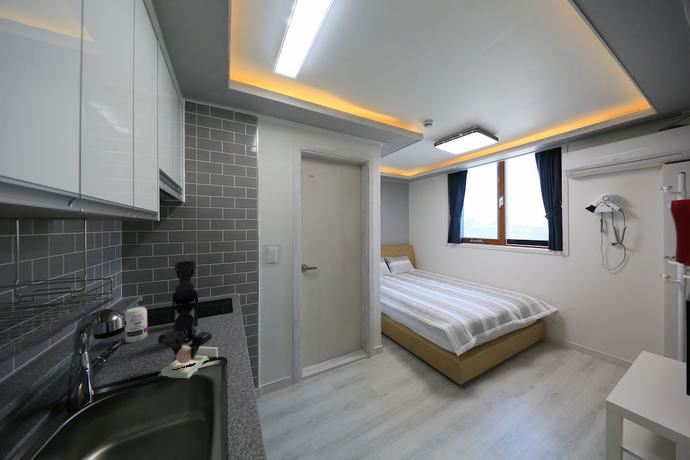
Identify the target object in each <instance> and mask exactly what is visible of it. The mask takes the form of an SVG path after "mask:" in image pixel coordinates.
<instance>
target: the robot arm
mask: <svg viewBox="0 0 690 460" xmlns="http://www.w3.org/2000/svg"><path fill="white" fill-rule="evenodd" d="M196 263H197V262H196V261H193V259H192V260H191V259H190V260H178V261H177V262H174V263H173V264H174V265H173V266H174V268H173V269H174V272H176V276H177V277H178V284H177V285H176V286H175V288H174V289H175V290H174V292H172V308H171V309H172V310H171V311H174V312H175V310H176V318H175V317H174V325H173V326H172V329H168V330H167V331H165V332H163V333H161V334H160V335H159V336H158V338H157V343H158V344H163V346H164V348H167V349H168V348H171V350H172V352H173V353H174V356H175V357H176V355H177V353H178V351H179V350H180V349H181V348H182V346H183V344H184V343H187V344H188V343H189V342H191V343H190V344H189V345H188V346H189V347H191V359H194V358H195V355H196V353H197V351H198V349H199V347H201V346H203V345H205V344H206V343H207V342H208V341H210V340H211V339H212V338H213V337H212V333H211V331H200V332H199V333H197V329H195V328H196V327H197V326H198V325H199V317H198V316H197V314H196V313H195V309H194V308H196V307H197V305H198V304H199V294H198V293H199V292H198V291H197V289H195V284H193V283H192V282H191V279H192V277H193V276H194V274H195V270H197V264H196ZM175 304H180V305H176V307H175ZM196 333H197V334H196Z"/></svg>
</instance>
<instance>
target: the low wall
mask: <svg viewBox="0 0 690 460" xmlns="http://www.w3.org/2000/svg"><path fill="white" fill-rule="evenodd" d="M186 346H187V345H182V346H181V348H183V347H186ZM196 355H198V356H208V358H213V357H217V358H218V357H219V348H218V347H217V346H216V347H213V346H212V347H211V346H200V347H199V349H198V351H197V353H196Z"/></svg>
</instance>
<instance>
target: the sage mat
mask: <svg viewBox="0 0 690 460" xmlns="http://www.w3.org/2000/svg"><path fill="white" fill-rule="evenodd" d="M209 359H210V360H211V357H208V356H198V355H195V358H194V359H191V360H190V361H189V362H187V363H179V362H178V361H177V359H175V360H174V361H173V362H171V363H169V365H167V366H166V367H164V368H163V369H161V370H160V373H161V374H160V373H159V374H158V376H159V375H163V376H168V377H167V378H174V379H175V378H176V379H189V378H190V377H192V376H193V375H194V374H195V373H196V372H198V368H199V366H200V365H201V364H202V363H203V362H204V361H206V360H209ZM210 360H209V361H210ZM193 363H196V364H195V365H194V366H192V367H187V368H186V367H185V368H181V367H184V366H186V365H189V364H193ZM177 368H180V369H178V370H172V369H177ZM194 372H195V373H194ZM193 373H194V374H193ZM192 374H193V375H192Z"/></svg>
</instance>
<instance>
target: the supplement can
mask: <svg viewBox="0 0 690 460" xmlns="http://www.w3.org/2000/svg"><path fill="white" fill-rule="evenodd" d="M125 321H126V327H125V326H124V339H125V342H127V343H136V342H140V341H143V340H144V339H146V338H147V337H148V309H147V308H146V307H145V306H136V307H131V308H129V309H127V310H126V311H125V313H124V322H125Z"/></svg>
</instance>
